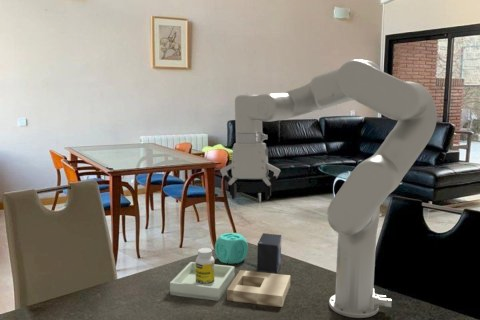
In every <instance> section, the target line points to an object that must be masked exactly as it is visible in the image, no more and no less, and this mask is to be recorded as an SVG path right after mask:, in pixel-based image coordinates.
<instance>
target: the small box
mask: <svg viewBox="0 0 480 320" xmlns="http://www.w3.org/2000/svg"><path fill="white" fill-rule="evenodd" d="M256 250H257V253H256V255H257V257H256V259H257V260H256V272H263V273H272V274H279V271H280V268H281V264H282V263H281V262H282V235H281V234H274V233H265V232H263V233H262V234H261V236H260V238H259V240H258V242H257V249H256Z"/></svg>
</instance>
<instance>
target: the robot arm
mask: <svg viewBox="0 0 480 320" xmlns="http://www.w3.org/2000/svg"><path fill="white" fill-rule="evenodd" d="M350 101H351V102H352V101H355V102H357V103H359V104H361V105H362V106H365V107H367V108H368V109H370V110H372V111H374V112H375V113H377V114H380V115H382V116H384V117H385V118H388V119H391V120H393V121H397V122H396V124H395V126H394V127H393V129H392V130H391V131H390V132H389V133H388V135H387V136H386V137H385V139H384V141H383V142H382V143H381V145H380V146H379V148H378V149H377V150H376V151H375V152H374V153H373V155H371V156H370V157H368V158H366V159H364V160H363V161H361V162H360V163H359V164H357V165H356V167H355V168H354V169H353V170H352V171H351V172H350V174H349V176H348V177H347V178H346V180H345V182H343V184H342V185H341V187H340V188H339V190H338V191H337V193H336V194H335V195H334V197H333V198H332V200H331V201H330V203H329V206H328V208H327V211H326V212H327V213H326V216H327V217H326V218H327V221H328V224H329V226H330V227H331V229H332V230H333V231H334V232H336V233H337V234H338V236H337V248H336V271H335V272H336V273H335V292H334V293H335V294H334V295H331V297H329V300H328V301H329V302H328V306H329V308H330V309H331V310H332V311H334V312H335V313H337V314H339V315H341V316H344V317H347V318H356V319H363V318H370V317H373V316H375V315H377V313H378V312H379V307H380V306H382V307H387V308H388V307H389V308H392V305H393V304H392V303H393V300H392V298H387V294H386V295H383V294H378V293H375V288H374V285H375V284H374V283H375V267H376V250H377V248H376V247H377V236H378V235H377V234H378V229H379V228H378V227H379V220H380V213H381V206H382V204H383V203H384V202H385V200H386V198H387V197H388V196H389V195H390V194H391V193H393V192H394V191H395V190H396V189H397V188H398V187H399V186H400V184H401V182H402V180H403V178H404V177H405V176H406V174H407V173H408V172H409V171H410V169H411V167H412V166H413V165H414V163H415V162H416V160H417V159H418V158H419V156H420V155H421V154H422V153H423V151H424V150H425V148H426V146H427V144H428V143H429V142H430V140H431V139H432V137H433V134H434V133H435V129H436V126H437V120H438V119H437V118H438V115H437V114H438V112H437V111H438V110H437V106H436V103H435V101H434V98H433V96H432V94H431V93H430V92H429V90H428V89H427V88H426V87H425V86H424V85H422V84H421V83H418V82H414V81H404V80H402V79H400V78H398V77H396V76H393V75H391V74H389V73H387V72H385V71H382V70H381V67H379V65H378V64H377V63H375V62H374V61H372V60H367V59H366V60H365V59H357V58H356V59H351V60H348V61H346V62H344V63H343V64H342V65H341V66H340V68H337V69H334V70H330V71H328V72H325V73H322V74H318V75H315V76H314V77H313V78H311V81H310V82H309V83H307V84H305V85H302V86H300V87H297V88H294V89H291V90H287V91H284V92H272V93H271V92H269V93H268V92H267V93H261V94H239V95H237V96H236V97H235V98H234V113H235V114H234V120H235V143H234V144H233V146H232V152H231V153H232V155H231V163H230V164H228V165H226V166H224V167H222V168H221V169H220V170H219V172H220V173H221V176H222V177H223V180H225V181H226V183H228V185H229V195H230V196H231V200H233V199H235V198H236V197H238V196H237V195H238V194H237V193H238V192H237V183H236V181H237V180H262V181H263V182H264V183H265V185H264V199H265V200H269V199H270V197H271V196H272V184H273V183H274V182H275V181H276V180H277V179H278V177H279V175H280V173H281V169H280V168H278V167H276V166H274V165H272V164H270V163H269V156H268V149H267V143H265V142H264V141H265V140H268V138H269V137H268V134H265V133H264V131H263V122H265V123H266V122H276V121H282V120H288V119H292V118H294V117H295V118H296V117H298V116H302V115H306V114H308V113H313V112H314V111H315V112H316V111H319V110H320V111H321V110H324V109H327V108H331V107H334V106H337V105H340V104H344V103H347V102H350ZM229 170H231V176H232V177H231V176H230V175H229V174H228V171H229ZM269 170H270V171H271V172H273V176H272V177H269V173H270V172H269Z"/></svg>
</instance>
